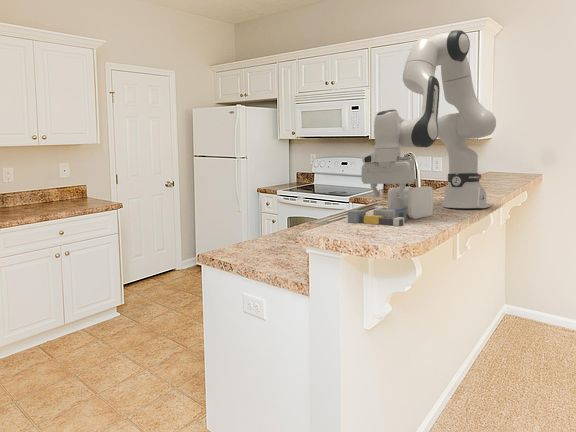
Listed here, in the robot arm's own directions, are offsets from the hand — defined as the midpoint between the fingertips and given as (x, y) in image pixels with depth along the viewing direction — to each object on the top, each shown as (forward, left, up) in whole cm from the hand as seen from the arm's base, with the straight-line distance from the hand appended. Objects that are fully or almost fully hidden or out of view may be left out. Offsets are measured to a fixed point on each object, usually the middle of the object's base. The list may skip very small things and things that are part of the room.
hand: (387, 196), depth 163 cm
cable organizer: (-14, 0, -9) cm, 17 cm away
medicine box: (+1, +6, -7) cm, 9 cm away
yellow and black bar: (+9, +3, -9) cm, 13 cm away
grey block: (+9, -7, -9) cm, 14 cm away
